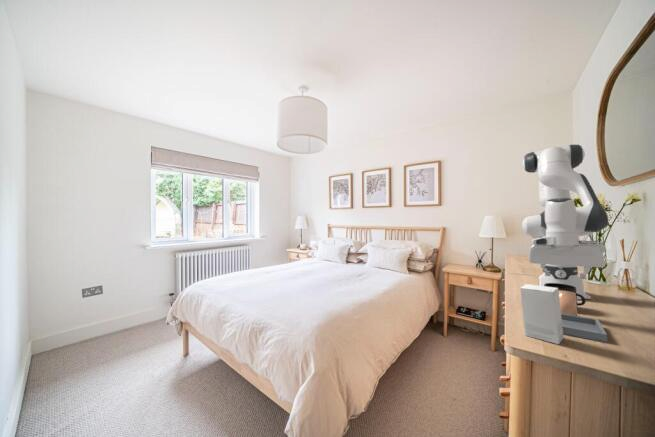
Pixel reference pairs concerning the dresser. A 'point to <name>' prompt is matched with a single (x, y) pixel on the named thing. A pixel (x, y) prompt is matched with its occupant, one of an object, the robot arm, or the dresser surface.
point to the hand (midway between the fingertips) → (564, 277)
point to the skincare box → (542, 313)
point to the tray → (583, 328)
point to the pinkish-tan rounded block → (568, 302)
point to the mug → (567, 288)
